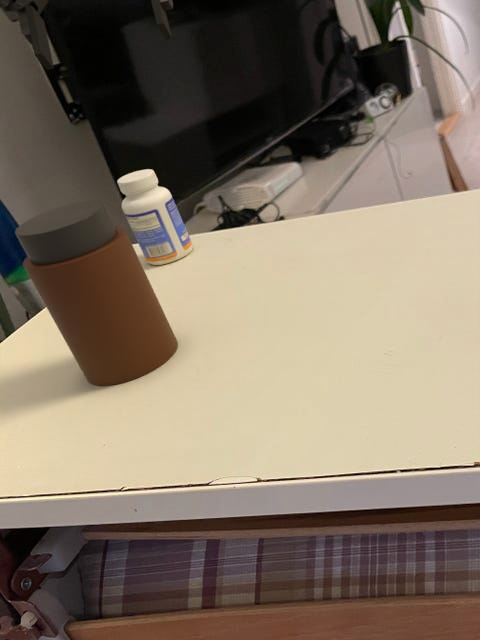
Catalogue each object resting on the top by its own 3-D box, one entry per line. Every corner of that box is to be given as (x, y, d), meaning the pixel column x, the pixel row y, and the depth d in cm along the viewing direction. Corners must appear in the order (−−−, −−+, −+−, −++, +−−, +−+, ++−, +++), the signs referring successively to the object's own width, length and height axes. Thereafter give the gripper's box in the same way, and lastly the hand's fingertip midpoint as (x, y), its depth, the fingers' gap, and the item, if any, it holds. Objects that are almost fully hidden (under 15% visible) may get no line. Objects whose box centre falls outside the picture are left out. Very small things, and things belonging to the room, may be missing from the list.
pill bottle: (177, 243, 93) (142, 165, 88) (203, 247, 89) (169, 166, 84) (138, 263, 89) (100, 183, 84) (164, 268, 86) (126, 185, 81)
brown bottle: (66, 385, 66) (-17, 242, 59) (126, 336, 72) (57, 201, 66) (140, 386, 63) (62, 235, 56) (195, 334, 70) (131, 193, 63)
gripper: (185, -99, 97) (223, 40, 92) (-16, -52, 95) (12, 94, 90) (163, -153, 90) (203, -4, 85) (-56, -103, 87) (-28, 53, 82)
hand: (105, 47), depth 87 cm, fingers open, 13 cm apart
